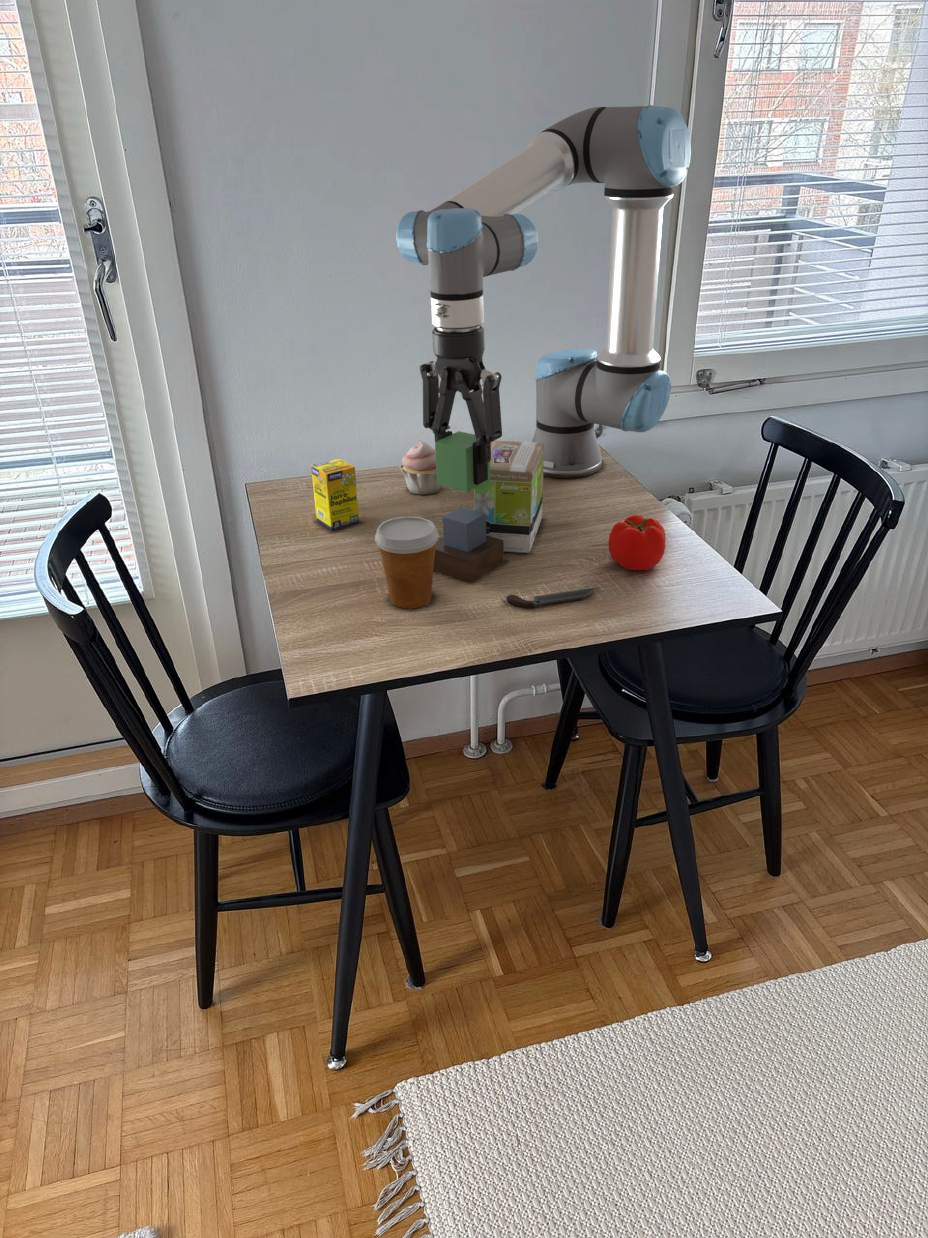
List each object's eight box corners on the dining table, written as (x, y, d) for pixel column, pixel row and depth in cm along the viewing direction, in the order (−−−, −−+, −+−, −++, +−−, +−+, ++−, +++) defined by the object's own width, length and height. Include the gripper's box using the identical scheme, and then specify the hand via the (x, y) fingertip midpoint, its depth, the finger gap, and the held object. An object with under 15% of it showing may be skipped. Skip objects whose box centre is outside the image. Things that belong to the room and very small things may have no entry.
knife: (513, 610, 139) (513, 606, 139) (505, 598, 142) (505, 594, 142) (601, 597, 142) (601, 593, 141) (591, 585, 145) (592, 582, 145)
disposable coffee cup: (454, 598, 143) (451, 526, 137) (408, 620, 138) (402, 547, 132) (413, 578, 149) (409, 509, 143) (367, 599, 144) (360, 528, 138)
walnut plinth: (460, 548, 159) (459, 527, 157) (503, 562, 154) (503, 540, 152) (427, 568, 152) (426, 546, 150) (471, 582, 148) (470, 560, 146)
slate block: (462, 534, 154) (461, 506, 152) (486, 541, 151) (485, 513, 149) (443, 545, 151) (442, 516, 148) (468, 552, 148) (467, 523, 146)
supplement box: (332, 531, 166) (325, 474, 161) (316, 521, 171) (309, 464, 165) (360, 523, 169) (355, 466, 164) (344, 513, 174) (338, 457, 168)
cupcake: (402, 480, 187) (399, 432, 182) (449, 480, 186) (447, 431, 181) (398, 498, 179) (394, 449, 174) (446, 498, 178) (444, 448, 173)
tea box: (532, 554, 156) (532, 471, 148) (473, 550, 158) (470, 468, 150) (543, 518, 169) (544, 440, 161) (488, 515, 170) (487, 437, 163)
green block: (460, 472, 150) (458, 430, 146) (490, 480, 146) (489, 437, 143) (437, 484, 146) (434, 441, 142) (467, 492, 142) (466, 449, 139)
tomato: (626, 581, 147) (629, 537, 143) (598, 558, 154) (600, 516, 150) (677, 569, 149) (681, 526, 146) (647, 548, 157) (650, 506, 153)
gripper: (391, 324, 137) (402, 472, 148) (496, 339, 126) (499, 497, 138) (423, 314, 142) (431, 458, 153) (527, 328, 131) (527, 481, 143)
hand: (463, 477), depth 146 cm, fingers closed on green block, 6 cm apart
